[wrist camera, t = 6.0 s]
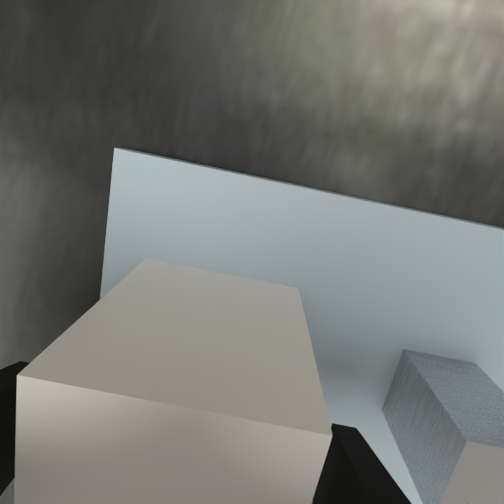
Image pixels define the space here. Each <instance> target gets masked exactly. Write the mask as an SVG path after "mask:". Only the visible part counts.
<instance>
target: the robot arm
mask: <svg viewBox="0 0 504 504" xmlns="http://www.w3.org/2000/svg"><path fill="white" fill-rule="evenodd" d="M28 364H30V363H27V362H22V361H20V362H18V363H15V364H13V365H10V366H8V367H6V368H3V369H1V370H0V496H1V494H2V493H3V492H4V490H5V489H6V488H7V487H8V485H9V484H10V483H11V481H12V480H13V479H14V477H15V438H16V391H17V374H19V373H20V372H21V371H22V370H23V369H24V368H25V367H26V366H27V365H28ZM331 431H332V435H333V436H332V439H331V443H330V446H329V449H328V452H327V455H326V459H325V462H324V465H323V468H322V471H321V475H320V478H319V481H318V484H317V487H316V490H315V494H314V497H313V504H412V503H411V502H410V501H409V499H408V498H407V497H406V495H405V494H404V493H403V491H402V490H401V489H400V487H399V486H398V485H397V483H396V482H395V480H394V479H393V478H392V476H391V475H390V474H389V472H388V471H387V469H386V468H385V467H384V465H383V464H382V463H381V461H380V460H379V458H378V457H377V456H376V454H375V453H374V451H373V450H372V449H371V447H370V446H369V444H368V443H367V442H366V440H365V439H364V437H363V436H362V435H361V433H360V432H359V431H358V429H357V428H355V427H350V426H344V425H339V424H334V423H332V426H331Z"/></svg>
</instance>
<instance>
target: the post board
mask: <svg viewBox="0 0 504 504" xmlns="http://www.w3.org/2000/svg"><path fill="white" fill-rule="evenodd" d="M146 258H150V259H155V260H160V261H165V262H170V263H175V264H180V265H185V266H190V267H195V268H200V269H205V270H210V271H215V272H220V273H225V274H230V275H235V276H240V277H245V278H250V279H255V280H260V281H265V282H270V283H275V284H281V285H286V286H291V287H296V288H299V292H300V296H301V300H302V305H303V309H304V314H305V318H306V322H307V327H308V331H309V335H310V340H311V344H312V348H313V353H314V357H315V361H316V366H317V370H318V374H319V379H320V383H321V387H322V392H323V396H324V400H325V405H326V409H327V413H328V418H329V422H330V427H331V426H332V423H334V424H339V425H344V426H350V427H355V428H357V429H358V431H359V432H360V433H361V435H362V436H363V437H364V439H365V440H366V442H367V443H368V444H369V446H370V447H371V449H372V450H373V451H374V453H375V454H376V456H377V457H378V458H379V460H380V461H381V463H382V464H383V465H384V467H385V468H386V469H387V471H388V472H389V474H390V475H391V476H392V478H393V479H394V480H395V482H396V483H397V485H398V486H399V487H400V489H401V490H402V491H403V493H404V494H405V495H406V497H407V498H408V499H409V501H410V502H411V503H412V504H423V503H422V501H421V498H420V496H419V494H418V492H417V489H416V487H415V485H414V483H413V480H412V478H411V476H410V473H409V471H408V469H407V467H406V464H405V462H404V460H403V458H402V455H401V453H400V451H399V448H398V446H397V444H396V442H395V439H394V437H393V435H392V433H391V430H390V428H389V426H388V423H387V421H386V419H385V417H384V414H383V412H382V408H383V405H384V402H385V400H386V397H387V394H388V391H389V388H390V386H391V383H392V380H393V377H394V374H395V372H396V369H397V366H398V363H399V361H400V358H401V355H402V352H403V349H407V350H412V351H417V352H422V353H427V354H432V355H437V356H442V357H447V358H451V359H456V360H461V361H466V362H471V363H476V364H477V365H478V366H479V367H480V368H481V369H482V370H483V371H484V372H485V373H486V374H487V375H488V376H489V377H490V378H491V379H492V380H493V382H494V383H495V384H496V385H497V386H498V387H499V388H500V389H501V390H502V391H503V392H504V228H502V227H497V226H493V225H488V224H483V223H478V222H473V221H469V220H464V219H459V218H454V217H450V216H445V215H440V214H435V213H431V212H426V211H421V210H416V209H412V208H407V207H402V206H397V205H393V204H388V203H383V202H378V201H374V200H369V199H364V198H359V197H355V196H350V195H345V194H340V193H336V192H331V191H326V190H321V189H317V188H312V187H307V186H302V185H297V184H293V183H288V182H283V181H278V180H274V179H269V178H264V177H259V176H255V175H250V174H245V173H240V172H236V171H231V170H226V169H221V168H217V167H212V166H207V165H202V164H198V163H193V162H188V161H183V160H179V159H174V158H169V157H164V156H160V155H155V154H150V153H145V152H140V151H136V150H131V149H126V148H114V156H113V167H112V177H111V188H110V198H109V209H108V219H107V230H106V240H105V251H104V261H103V272H102V282H101V293H100V299H101V298H102V297H104V296H105V295H106V294H107V293H108V292H109V291H110V290H111V289H112V288H114V287H115V286H116V285H117V284H118V283H119V282H120V281H121V280H122V279H123V278H125V277H126V276H127V275H128V274H129V273H130V272H131V271H132V270H133V269H135V268H136V267H137V266H138V265H139V264H140V263H141V262H142V261H143V260H144V259H146Z"/></svg>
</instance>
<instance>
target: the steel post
mask: <svg viewBox="0 0 504 504" xmlns="http://www.w3.org/2000/svg"><path fill="white" fill-rule="evenodd" d="M382 412H383V414H384V417H385V419H386V421H387V423H388V426H389V428H390V430H391V433H392V435H393V437H394V439H395V442H396V444H397V446H398V448H399V451H400V453H401V455H402V458H403V460H404V462H405V464H406V467H407V469H408V471H409V473H410V476H411V478H412V480H413V483H414V485H415V487H416V489H417V492H418V494H419V496H420V498H421V501H422V503H423V504H504V392H503V391H502V390H501V389H500V388H499V387H498V386H497V385H496V384H495V383H494V382H493V380H492V379H491V378H490V377H489V376H488V375H487V374H486V373H485V372H484V371H483V370H482V369H481V368H480V367H479V366H478V365H477V364H476V363H471V362H466V361H461V360H456V359H451V358H447V357H442V356H437V355H432V354H427V353H422V352H417V351H412V350H407V349H403V352H402V355H401V358H400V361H399V363H398V366H397V369H396V372H395V374H394V377H393V380H392V383H391V386H390V388H389V391H388V394H387V397H386V400H385V402H384V405H383V408H382Z"/></svg>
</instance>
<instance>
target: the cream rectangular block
mask: <svg viewBox="0 0 504 504" xmlns="http://www.w3.org/2000/svg"><path fill="white" fill-rule="evenodd" d="M332 436H333V435H332V431H331V427H330V422H329V418H328V413H327V409H326V405H325V400H324V396H323V392H322V387H321V383H320V379H319V374H318V370H317V366H316V361H315V357H314V353H313V348H312V344H311V340H310V335H309V331H308V327H307V322H306V318H305V314H304V309H303V305H302V300H301V296H300V292H299V288H296V287H291V286H286V285H281V284H275V283H270V282H265V281H260V280H255V279H250V278H245V277H240V276H235V275H230V274H225V273H220V272H215V271H210V270H205V269H200V268H195V267H190V266H185V265H180V264H175V263H170V262H165V261H160V260H155V259H150V258H146V259H144V260H143V261H142V262H141V263H140V264H139V265H138V266H137V267H136V268H135V269H133V270H132V271H131V272H130V273H129V274H128V275H127V276H126V277H125V278H123V279H122V280H121V281H120V282H119V283H118V284H117V285H116V286H115V287H114V288H112V289H111V290H110V291H109V292H108V293H107V294H106V295H105V296H104V297H102V298H101V299H100V300H99V301H98V302H97V303H96V304H95V305H94V306H93V307H91V308H90V309H89V310H88V311H87V312H86V313H85V314H84V315H83V316H82V317H80V318H79V319H78V320H77V321H76V322H75V323H74V324H73V325H72V326H70V327H69V328H68V329H67V330H66V331H65V332H64V333H63V334H62V335H61V336H59V337H58V338H57V339H56V340H55V341H54V342H53V343H52V344H51V345H49V346H48V347H47V348H46V349H45V350H44V351H43V352H42V353H41V354H40V355H38V356H37V357H36V358H35V359H34V360H33V361H32V362H31V363H30V364H28V365H27V366H26V367H25V368H24V369H23V370H22V371H21V372H20V373H19V374H17V391H16V438H15V485H14V504H311V503H312V500H313V497H314V494H315V490H316V487H317V484H318V481H319V478H320V475H321V471H322V468H323V465H324V462H325V459H326V455H327V452H328V449H329V446H330V443H331V439H332Z"/></svg>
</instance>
